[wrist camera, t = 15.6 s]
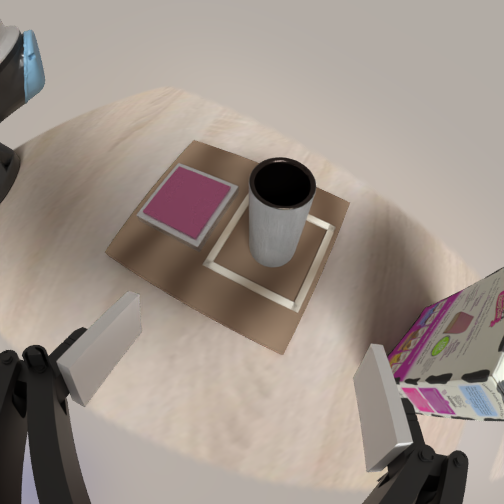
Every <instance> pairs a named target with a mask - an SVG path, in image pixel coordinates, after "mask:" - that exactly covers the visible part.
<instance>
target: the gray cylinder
mask: <svg viewBox="0 0 504 504" xmlns="http://www.w3.org/2000/svg"><path fill="white" fill-rule="evenodd" d="M315 192H316V181H315V178H314V176H313V174H312V173H311V171H310V170H309V169H308V168H307V167H306V166H304V165H303V164H301V163H300V162H298V161H296V160H293V159H289V158H282V157H278V158H271V159H267V160H265V161H262V162H261V163H259V164H258V165H257V166H256V167H255V168H254V169H253V170H252V172H251V174H250V177H249V247H250V252H251V254H252V256H253V258H254V259H255V260H256V261H257V262H258V263H260V264H261V265H264V266H267V267H279V266H282V265H284V264H286V263H287V262H289V261H290V260H291V258H292V257H293V255H294V253H295V250H296V247H297V245H298V242H299V239H300V236H301V233H302V230H303V228H304V225H305V222H306V219H307V216H308V213H309V210H310V207H311V204H312V201H313V198H314V195H315Z"/></svg>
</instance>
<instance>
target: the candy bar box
mask: <svg viewBox="0 0 504 504" xmlns="http://www.w3.org/2000/svg"><path fill="white" fill-rule="evenodd" d="M387 358H388V361H389V364H390V367H391V370H392V373H393V376H394V379H395V382H396V385H397V388H398V391H399V394H400V398H408V399H409V400H410V402H411V403H412V404H413V406H414V409H415V412H416V414H421V415H427V416H436V417H445V418H453V419H464V420H480V421H504V267H503V268H501V269H499V270H497V271H496V272H494V273H492V274H491V275H489V276H487V277H485V278H484V279H482V280H480V281H478V282H476V283H474V284H473V285H471V286H469V287H467V288H465V289H463V290H461V291H459V292H457V293H455V294H453V295H451V296H449V297H447V298H445V299H443V300H441V301H439V302H437V303H435V304H433V305H430V306H428V307H426V308H425V309H424V310H423V312H422V313H421V315H420V316H419V318H418V319H417V320H416V322H415V323H414V324H413V326H412V327H411V328H410V330H409V331H408V332H407V333H406V335H405V336H404V337H403V339H402V340H401V341H400V342H399V344H398V345H397V346H396V347H395V348H394V350H393V351H392V352H391V353H390V354H389V355H388V357H387Z"/></svg>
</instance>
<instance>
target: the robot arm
mask: <svg viewBox="0 0 504 504" xmlns="http://www.w3.org/2000/svg"><path fill="white" fill-rule="evenodd" d="M44 84H45V76H44V70H43V65H42V61H41V56H40V52H39V48H38V44H37V40H36V37H35V34H34V32H33V31H32V30H28V31H25V32H24V33H23V34H21V33H20V31H19V29H18V28H17V27H16V26H6V27H4V25H3V23H2V21H1V19H0V123H1V122H2V121H3V120H4V119H5V118H7V117H8V116H9V115H11V113H13V112H14V111H16V110H17V109H18V108H20V107H21V106H22V105H24V104H26V103H27V102H28V100H30V99H31V98H32V97H34V96H35V95H36V94H38V93H39V92H40V91H41V90H42V89H43V87H44ZM19 165H20V160H19V157H18V156H17V155H16V153H15V152H14V151H13V150H12V149H10V148H9V147H7V146H5V145H3V144H2V143H0V203H1V201H2V200H3V199H4V197H5V196H6V194H7V193H8V191H9V189H10V188H11V186H12V184H13V182H14V180H15V178H16V175H17V173H18V170H19ZM141 332H142V327H141V313H140V294H138V293H134V292H131V291H127V292H126V293H125V294H124V295H123V296H122V297H121V298H120V299H119V300H118V301H117V302H116V303H115V304H114V305H112V306H111V307H110V308H109V309H108V310H107V311H106V312H105V313H104V314H103V315H102V316H101V317H100V318H99V319H98V320H97V321H96V322H95V323H94V324H93V325H92V326H91V327H90V328H89V329H86V328H84V327H82V328H80V329H77V330H75V331H74V332H73V333H72V334H71V335H70V336H69V337H68V338H66V339H65V340H64V342H63V343H61V344H60V345H59V346H58V347H57V348H56V349H55V350H54V351H53V352H52V353H51V354H50V355H49V356H48V354H47V351H46V350H45V348H44V347H42V346H40V345H32V346H29V347H28V348H26V349H25V350H24V351H23V354H22V357H23V359H24V361H23V360H20V359H19V357H18V355H17V353H16V352H15V351H13V350H6V351H3V352H2V353H0V504H21V491H22V472H23V461H24V452H25V445H26V438H27V432H28V437H29V447H30V456H31V464H32V470H33V476H34V481H35V486H36V490H37V495H38V499H39V503H40V504H91V502H90V499H89V496H88V493H87V490H86V487H85V483H84V480H83V476H82V473H81V469H80V465H79V461H78V457H77V453H76V449H75V444H74V439H73V434H72V428H71V423H70V416H69V409H68V402H67V399H66V397H67V396H68V395H69V393H70V395H71V398H72V400H73V401H75V402H76V403H78V404H80V405H82V406H84V407H85V406H86V405H87V404H88V402H89V401H90V400H91V398H92V397H93V395H94V394H95V393H96V391H97V390H98V389H99V387H100V386H101V385H102V383H103V382H104V381H105V379H106V378H107V377H108V375H109V374H110V373H111V371H112V370H113V369H114V367H115V366H116V365H117V363H118V362H119V361H120V359H121V358H122V357H123V355H124V354H125V353H126V352H127V350H128V349H129V348H130V346H131V345H132V344H133V342H134V341H135V340H136V339H137V337H138V336H139V335H140V333H141ZM353 380H354V386H355V391H356V397H357V403H358V409H359V416H360V423H361V430H362V437H363V445H364V453H365V462H366V472H378V471H382V470H383V469H384V468H385V467H386V466H387V467H388V472H387V473H386V474H385V475H383V476H382V477H381V478H380V479H378V480H377V481H378V482H379V481H380V480H381V481H380V482H379V483H378V485H377V486H376V487H375V489H374V490H373V491H372V492H371V494H370V495H369V496H368V497H367V499H366V500H365V501H364V502H363V503H362V504H462V502H463V497H464V492H465V486H466V479H467V472H468V458H467V456H466V454H464V453H463V452H462V451H457V450H456V451H454V452H452V453H451V454H450V455H449V456H445V455H440V454H436V453H435V451H434V450H433V448H431V447H430V446H428V445H426V444H425V442H424V439H423V435H422V432H421V429H420V425H419V422H418V421H417V420H418V419H417V416H416V415H415V414H416V412H415V409H414V406H413V404H412V403H411V402H410V400H409V399H408V398H400V394H399V391H398V388H397V385H396V382H395V379H394V376H393V373H392V370H391V367H390V364H389V361H388V358H387V356H386V353H385V350H384V347H383V345H378V344H370V346H369V348H368V350H367V352H366V354H365V356H364V358H363V360H362V362H361V364H360V366H359V368H358V370H357V371H356V373H355V375H354V377H353Z"/></svg>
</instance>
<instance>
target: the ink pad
mask: <svg viewBox="0 0 504 504" xmlns="http://www.w3.org/2000/svg"><path fill="white" fill-rule="evenodd" d="M238 194H239V186H236V185H234V184H231V183H229V182H226V181H224V180H222V179H219V178H217V177H214V176H211V175H209V174H206V173H204V172H201V171H199V170H196V169H194V168H191V167H188V166H186V165H183V164H180V163H178V164H177V165H176V166H175V168H174V169H173V170H172V171H171V172H170V173H169V175H168V176H167V177H166V178H165V179H164V181H163V182H162V183H161V184H160V186H159V187H158V188H157V189H156V190H155V192H154V193H153V194H152V195H151V197H150V198H149V199H148V201H147V202H146V203H145V204H144V206H143V207H142V208H141V210H140V211H139V212H138V214H137V215H136V216H137V217H138V219H139V220H140V221H141V222H143V223H145V224H146V225H148V226H150V227H152V228H154V229H156V230H158V231H160V232H162V233H163V234H165V235H167V236H169V237H171V238H173V239H175V240H177V241H179V242H181V243H183V244H184V245H186V246H188V247H190V248H192V249H194V250H196V251H198V252H200V251H201V249H202V248H203V246H204V245H205V243H206V242H207V240H208V238H209V237H210V235H211V234H212V232H213V231H214V229H215V228H216V226H217V225H218V223H219V222H220V220H221V219H222V217H223V216H224V214H225V213H226V211H227V210H228V208H229V207H230V205H231V204H232V202H233V201H234V199H235V198H236V196H237V195H238Z"/></svg>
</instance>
